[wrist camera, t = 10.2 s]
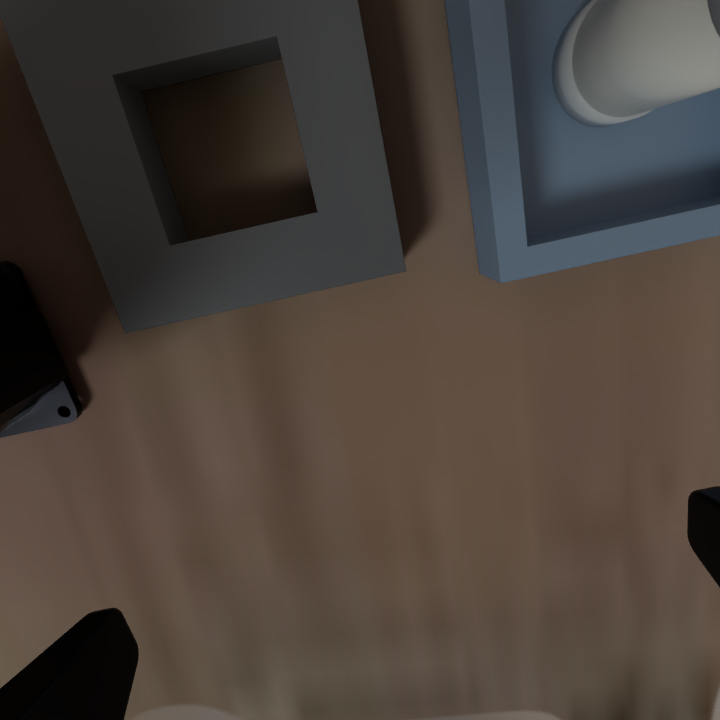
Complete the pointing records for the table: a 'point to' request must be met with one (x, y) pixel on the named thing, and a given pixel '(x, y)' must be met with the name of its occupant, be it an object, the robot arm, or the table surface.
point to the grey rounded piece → (635, 57)
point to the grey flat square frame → (145, 165)
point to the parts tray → (569, 152)
